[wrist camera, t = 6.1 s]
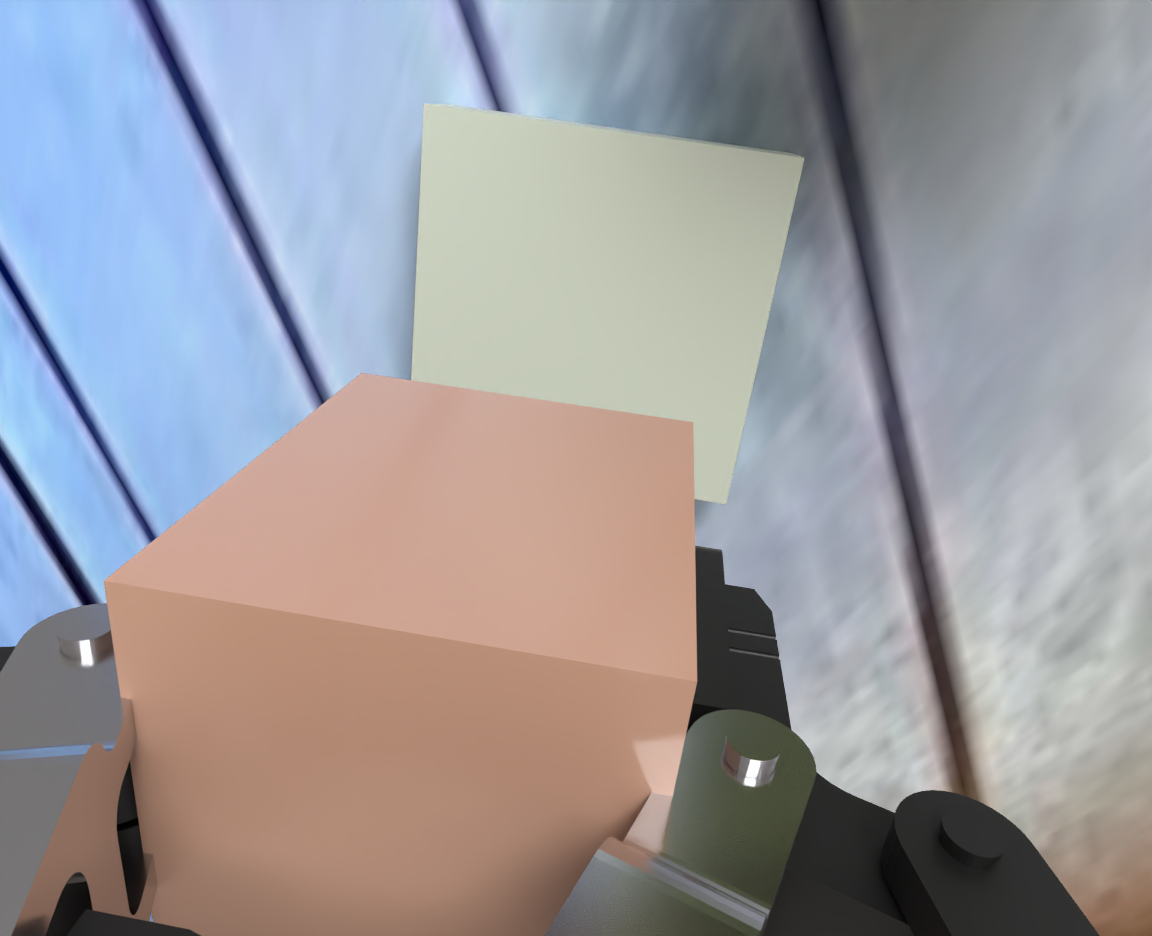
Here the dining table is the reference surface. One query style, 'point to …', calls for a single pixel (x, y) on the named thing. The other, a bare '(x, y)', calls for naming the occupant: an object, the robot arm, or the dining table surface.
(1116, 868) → the dining table surface
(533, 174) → the plinth block
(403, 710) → the terracotta block
